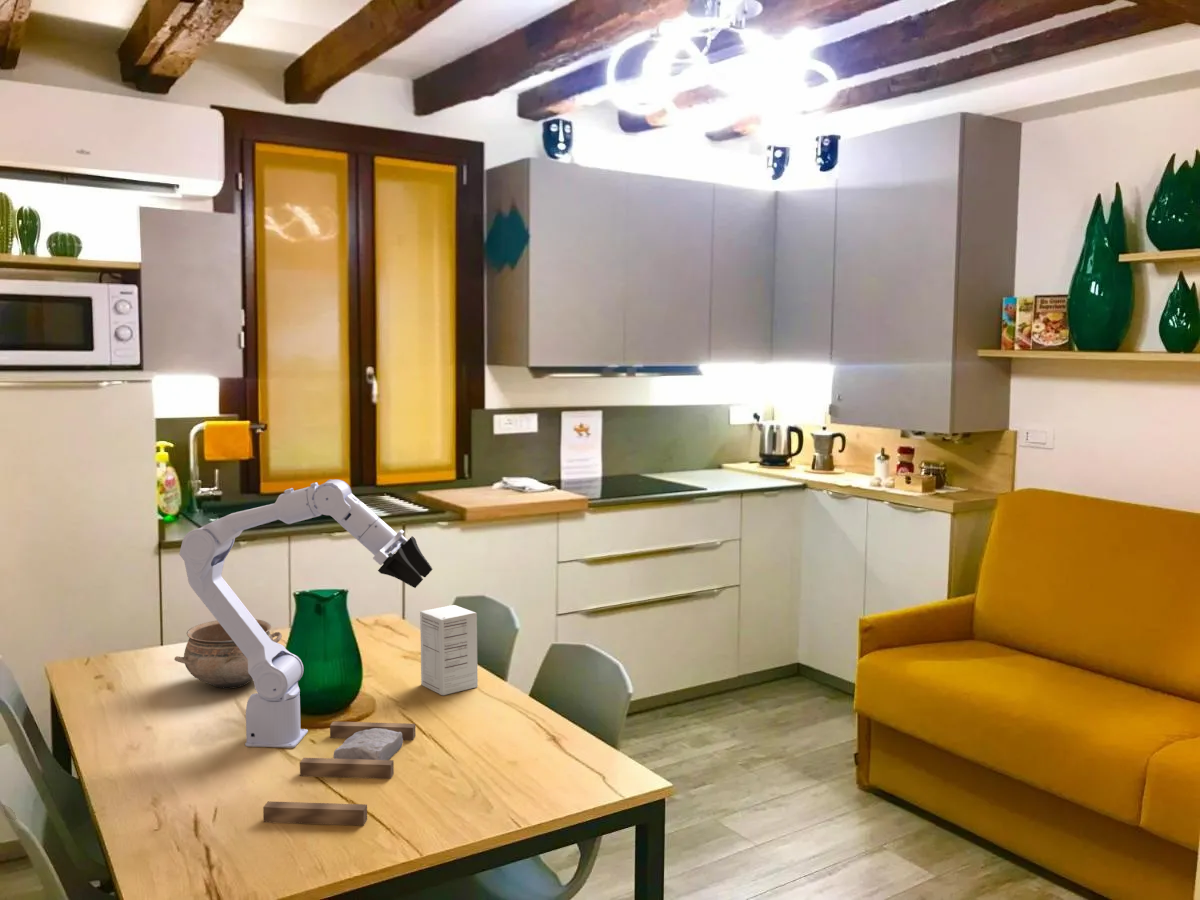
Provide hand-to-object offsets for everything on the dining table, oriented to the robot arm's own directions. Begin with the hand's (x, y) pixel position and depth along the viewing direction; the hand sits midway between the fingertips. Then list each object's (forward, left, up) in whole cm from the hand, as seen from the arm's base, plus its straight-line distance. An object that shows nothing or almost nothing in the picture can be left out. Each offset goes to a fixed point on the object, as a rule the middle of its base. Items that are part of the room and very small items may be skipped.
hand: (424, 578), depth 188 cm
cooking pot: (-50, +30, -32) cm, 66 cm away
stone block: (-10, -6, -32) cm, 34 cm away
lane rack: (-11, -14, -32) cm, 37 cm away
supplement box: (-2, +32, -32) cm, 46 cm away
